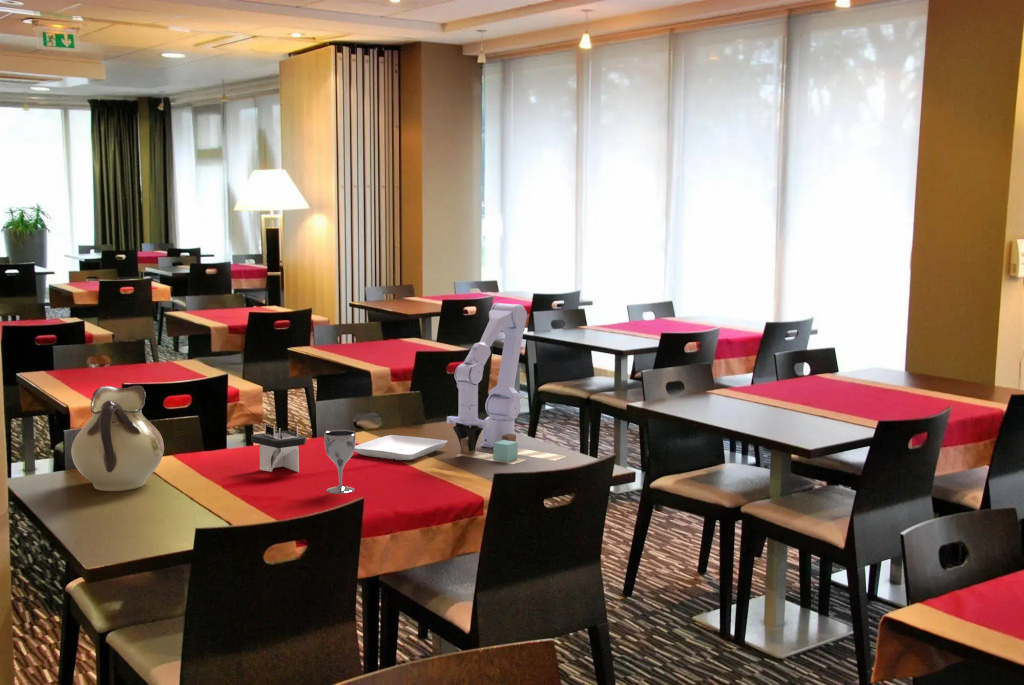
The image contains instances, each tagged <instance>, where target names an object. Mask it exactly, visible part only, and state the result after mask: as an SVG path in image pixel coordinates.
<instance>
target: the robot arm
mask: <svg viewBox="0 0 1024 685" xmlns="http://www.w3.org/2000/svg"><path fill="white" fill-rule="evenodd" d="M527 316H528V313H527V310H526V308H525V307H524V305H522V304H521V303H520V304H519V303H518V304H514V303H502V302H501V303H500V302H495V303H494V304H493V305H492V306H491V308H490V310H489V311H488V318H489V321H488V322H487V325H486V328H485V329H484V332H483V334H482V336H481V338H480V341H479V342H475V343H474V344H473V345H472V347H471V349H470V350H469V351H468V355H467V356H466V357H465V359H464V360H463V363H460V364H459V365H458V366H456V368H455V370H454V371H455V372H454V375H453V376H454V380H455V381H456V388H457V389H458V398H457V399H458V404H457V405H458V406H457V407H458V411H457V412H458V414H457V416H456V415H455V416H454V415H449V416H448V415H447V416H446V424H455V425H454V426H453V428H452V429H453V431H454V432H455V435H456V436H457V439H458V442H459V447H460V448H461V439H462V438H466V437H468V441H469V451H474V450H475V451H476V447H477V443H478V441H479V438H480V435H481V433H482V443H481V444H480V446H481V447H486V448H493V443H494V442H498V441H501V440H502V436H503V435H506V434H515V420H516V419H517V417H518V416H519V414H520V412H521V394H520V393H519V392H518V391H517V390H516V389H515V383H516V378H517V372H518V366H519V360H520V354H521V347H522V342H523V336H524V332H525V329H526V321H527ZM501 332H503V333H504V334H503V335H504V341H503V346H502V353H501V359H500V365H499V371H498V377H497V384H496V386H494V387H492V388H491V389H490V390H489V392H488V393H489V394H488V397H487V398H486V401H485V404H484V405H485V406H484V407H485V412H486V413H487V415H488V416H487V417H486V418H484V419H481V418H479V393H478V392H479V383H480V382H481V381H482V380H483V375H484V373H483V372H484V368H485V367H484V366H485V365H486V364H487V361H488V359H489V358H490V356H491V354H492V353H491V352H492V351H491V347H492V345H493V343H494V342H495V340H496V339H497V337H498V336H499V334H501Z"/></svg>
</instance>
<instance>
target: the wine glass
mask: <svg viewBox="0 0 1024 685" xmlns="http://www.w3.org/2000/svg"><path fill="white" fill-rule="evenodd" d="M323 435H324V436H323V437H324V439H323V441H324V448H325V452H326V455H327V457H328V458H329V459H330V460H331V462H333V463H334V465H335V466H336V467H337V468H336V469H337V473H338V485H337V486H334V487H328V488H327V489H326V492H327V493H330V494H334V495H335V494H336V495H337V494H338V495H344V494H350V493H353V492H355V488H353V487H351V486H346V485H345V486H344V485H343V470H344V467H345V465H346V464H347V462H348V461H349V460H350V459H351V457H353V455H354V453H355V451H354V449H355V446H356V442H357V440H356V439H357V436H356V431H355V430H350V429H333V430H327V431H325V432H324V434H323Z"/></svg>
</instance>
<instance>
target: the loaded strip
mask: <svg viewBox="0 0 1024 685" xmlns="http://www.w3.org/2000/svg"><path fill="white" fill-rule="evenodd" d="M459 457H468V458H474V459H479V460H485V461H491V462H498V463H503V464H510V465H514V464H518V463H521V462H524V461H525V462H526V461H527V459H525V458H519V457H518V459H516V460H513V461H510V462H503V461H497V460H493V453H488V452H483V451H482V452H481V451H476V449H475V450H474V451H469V441H468V437H466V438H462V439H461V447H460V453H458V454H456V458H459Z"/></svg>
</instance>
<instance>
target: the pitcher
mask: <svg viewBox="0 0 1024 685" xmlns="http://www.w3.org/2000/svg"><path fill="white" fill-rule="evenodd" d="M146 398H147V395H146V390H145V389H144V387H143V386H142V385H133V386H130V387H129V386H128V387H116V386H110V385H104V386H100V387H99V388H97V389H96V390H94V391H93V393H92V398H91V399H90V400H91V402H90V412H91V414H92V416H91V417H90V419H89V420H87V422H86V424H84V426H83V427H82V428H81V429H80V430H79V432H77V434H76V436H75V437H74V440H73V441H72V445H71V449H70V451H71V458H72V462H73V464H74V466H75V468H76V469H77V470H78V472H79V473H80V474H81V476H83V477H84V478H85V479H86V480H88V481H89V482H90V483H92V486H93V488H94V489H95V490H98V491H102V492H123V491H131V490H135V489H138V488H141V487H143V486H144V485H145V483H146V480H147V478H149V477H150V476H151V475H152V474H153V473H154V472H155V470H156V469H157V468H158V467H159V465H160V463H161V461H162V459H163V455H164V451H165V445H164V444H165V443H164V439H163V437H162V434H161V433H160V431H159V430H158V429H157V427H155V425H153V424H152V423H151V421H149V419H148V418H146V416H144V414H143V413H142V409H143V408H144V406H145V404H146V402H145V400H146Z"/></svg>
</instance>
